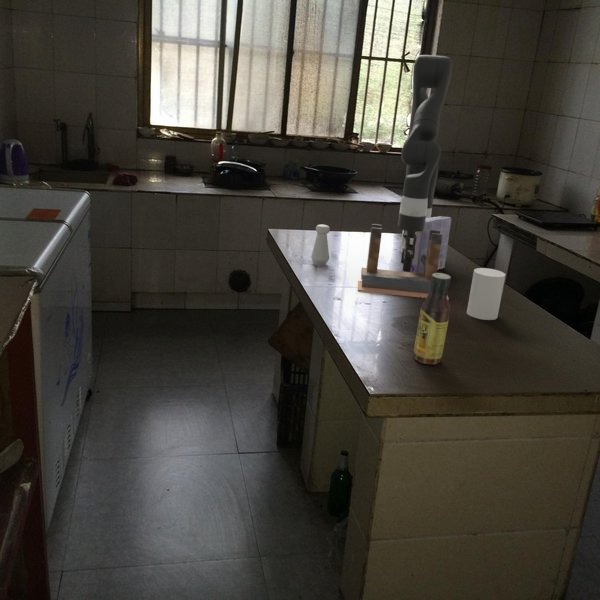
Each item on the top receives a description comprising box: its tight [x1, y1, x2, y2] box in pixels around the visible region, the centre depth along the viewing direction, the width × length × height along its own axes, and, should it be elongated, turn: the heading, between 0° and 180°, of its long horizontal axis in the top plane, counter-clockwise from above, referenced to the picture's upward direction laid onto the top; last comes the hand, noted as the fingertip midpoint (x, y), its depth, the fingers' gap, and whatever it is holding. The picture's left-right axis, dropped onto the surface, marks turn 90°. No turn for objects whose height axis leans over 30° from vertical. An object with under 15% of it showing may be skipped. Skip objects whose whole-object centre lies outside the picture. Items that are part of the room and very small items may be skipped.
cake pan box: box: [410, 215, 452, 274], centre depth 212 cm, size 19×5×18 cm, turn 139°
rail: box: [361, 272, 431, 294], centre depth 190 cm, size 24×3×4 cm, turn 85°
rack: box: [360, 223, 442, 280], centre depth 200 cm, size 24×8×16 cm, turn 85°
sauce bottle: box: [413, 272, 452, 366], centre depth 140 cm, size 6×6×20 cm
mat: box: [357, 280, 450, 301], centre depth 191 cm, size 26×9×1 cm, turn 85°
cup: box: [466, 267, 506, 321], centre depth 175 cm, size 8×8×12 cm
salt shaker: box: [310, 224, 331, 267], centre depth 210 cm, size 6×6×13 cm
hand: (405, 267), depth 189 cm, fingers open, 8 cm apart
